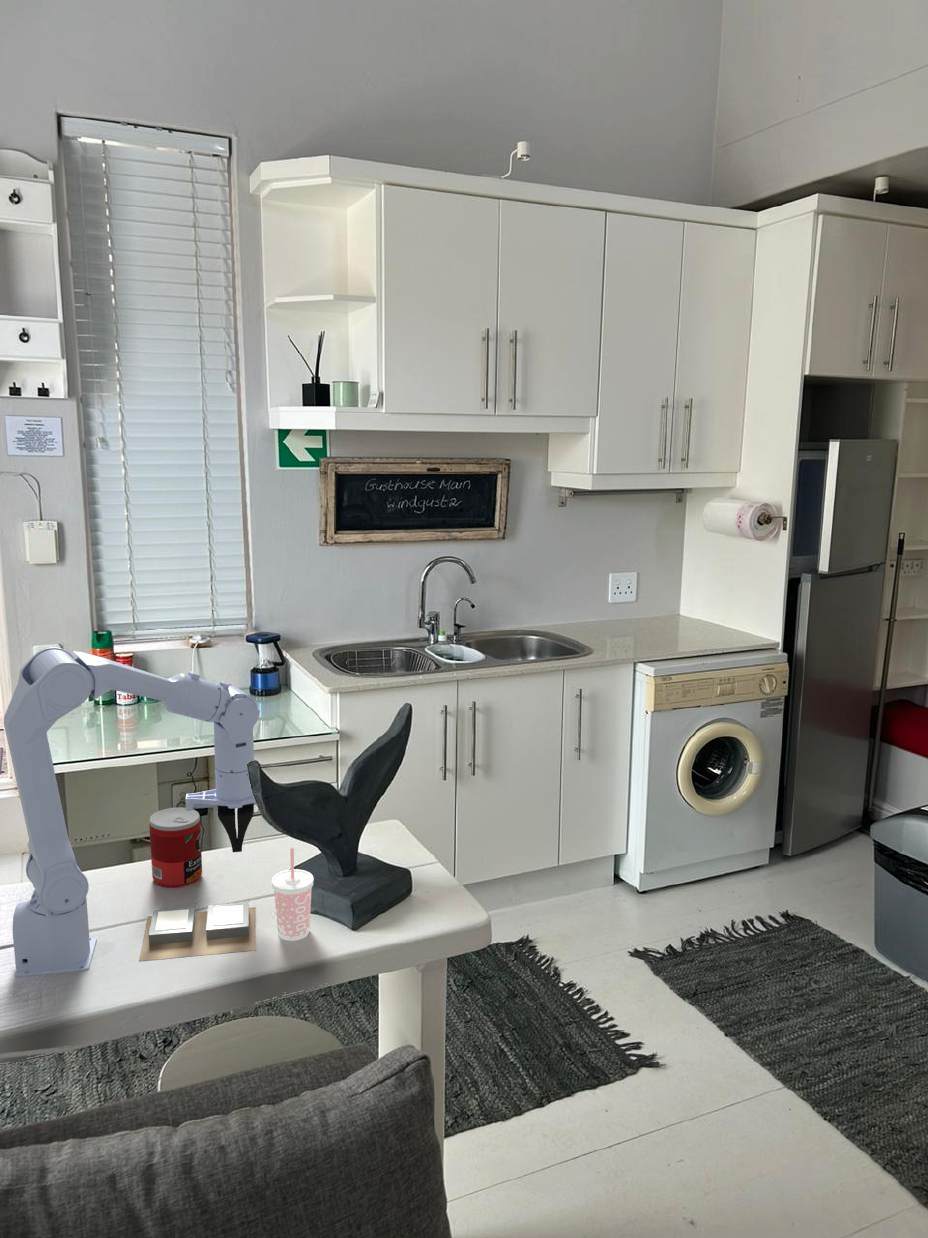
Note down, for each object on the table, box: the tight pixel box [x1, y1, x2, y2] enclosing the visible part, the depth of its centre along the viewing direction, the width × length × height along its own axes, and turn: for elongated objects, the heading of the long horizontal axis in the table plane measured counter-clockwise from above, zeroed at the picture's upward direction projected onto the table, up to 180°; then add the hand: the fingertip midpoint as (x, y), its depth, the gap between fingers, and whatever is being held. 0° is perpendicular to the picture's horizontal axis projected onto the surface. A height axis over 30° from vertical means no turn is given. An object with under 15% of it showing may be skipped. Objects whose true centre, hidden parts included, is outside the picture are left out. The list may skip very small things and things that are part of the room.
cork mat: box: [138, 907, 257, 962], centre depth 143 cm, size 16×12×1 cm
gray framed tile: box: [206, 901, 250, 940], centre depth 144 cm, size 6×2×7 cm
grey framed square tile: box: [149, 906, 196, 945], centre depth 143 cm, size 6×2×7 cm
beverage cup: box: [271, 846, 315, 942], centre depth 142 cm, size 6×6×14 cm
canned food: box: [148, 806, 203, 889], centre depth 158 cm, size 8×8×11 cm
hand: (237, 849), depth 148 cm, fingers closed
